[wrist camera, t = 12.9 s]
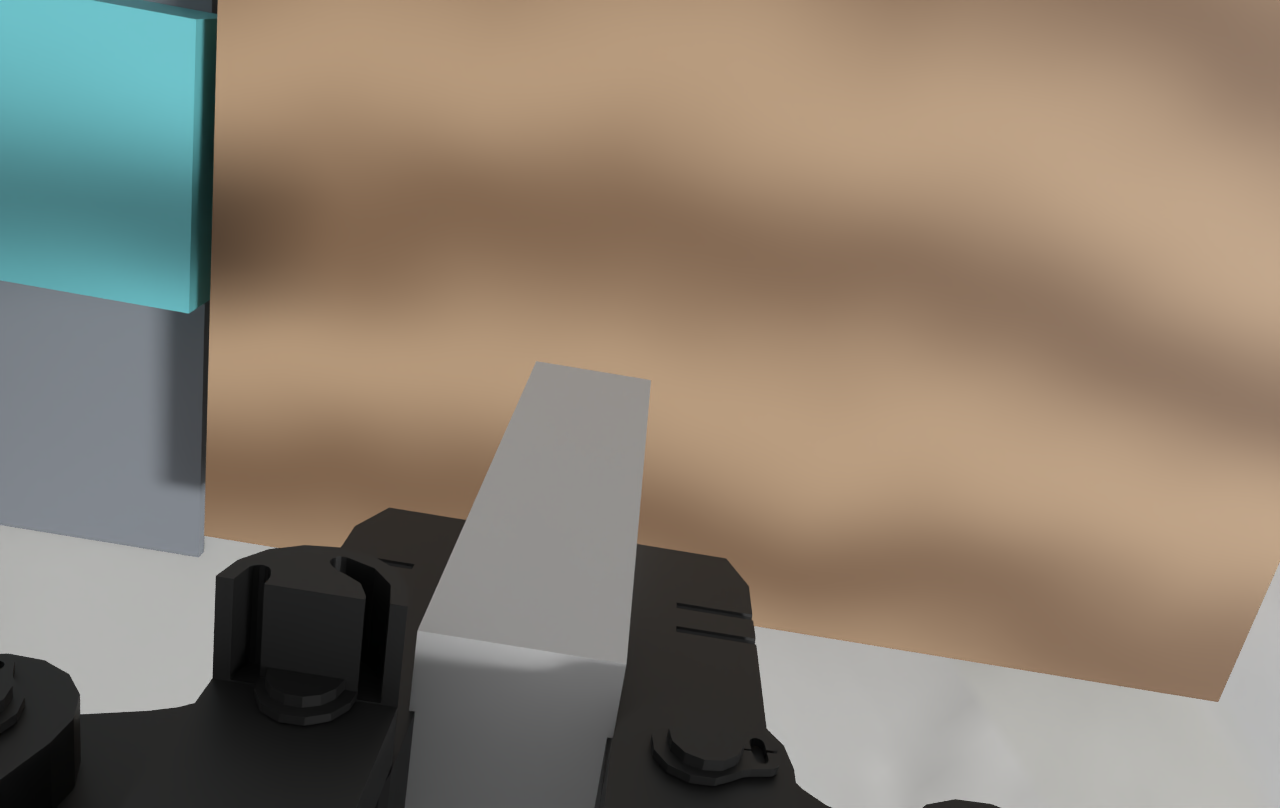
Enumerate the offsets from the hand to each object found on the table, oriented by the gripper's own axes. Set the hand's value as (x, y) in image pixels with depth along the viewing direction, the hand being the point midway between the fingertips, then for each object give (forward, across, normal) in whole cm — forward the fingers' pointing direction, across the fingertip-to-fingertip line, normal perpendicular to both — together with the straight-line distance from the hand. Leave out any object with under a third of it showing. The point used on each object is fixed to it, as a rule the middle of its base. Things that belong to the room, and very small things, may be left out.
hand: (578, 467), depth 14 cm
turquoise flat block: (+11, +14, -1) cm, 17 cm away
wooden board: (+11, -4, -1) cm, 12 cm away
